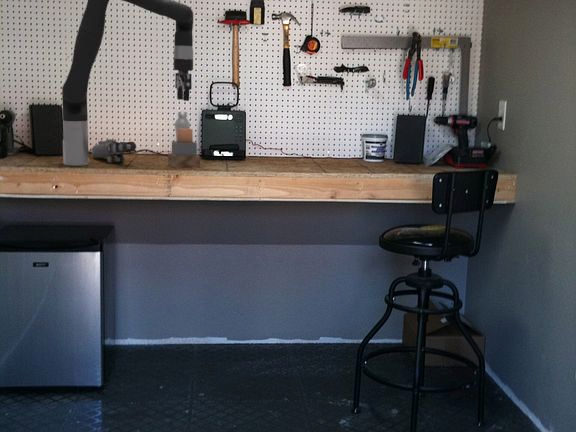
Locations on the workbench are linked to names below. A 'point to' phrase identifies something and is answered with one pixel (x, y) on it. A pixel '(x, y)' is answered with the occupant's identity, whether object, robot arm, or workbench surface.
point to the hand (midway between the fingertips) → (183, 100)
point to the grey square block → (184, 148)
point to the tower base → (183, 161)
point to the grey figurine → (182, 122)
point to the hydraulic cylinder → (113, 150)
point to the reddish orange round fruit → (184, 135)
